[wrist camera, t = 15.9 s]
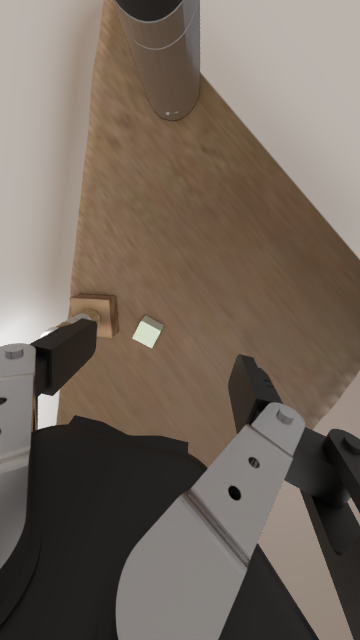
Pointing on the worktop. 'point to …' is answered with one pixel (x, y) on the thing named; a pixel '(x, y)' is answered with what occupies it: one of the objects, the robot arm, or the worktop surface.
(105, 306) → the walnut block
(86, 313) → the sprinkles bottle
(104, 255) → the worktop surface
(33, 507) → the robot arm
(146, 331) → the sage block
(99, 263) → the worktop surface
